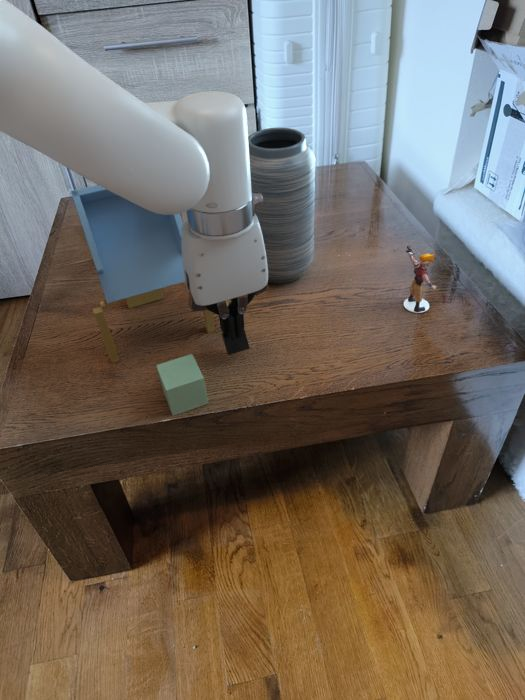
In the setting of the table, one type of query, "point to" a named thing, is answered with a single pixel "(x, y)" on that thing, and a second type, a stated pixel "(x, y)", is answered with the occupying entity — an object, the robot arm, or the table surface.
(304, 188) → the vase
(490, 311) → the table surface
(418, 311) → the action figure
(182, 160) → the robot arm
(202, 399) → the block
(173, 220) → the light blue walled tray
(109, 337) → the tan bar frame
